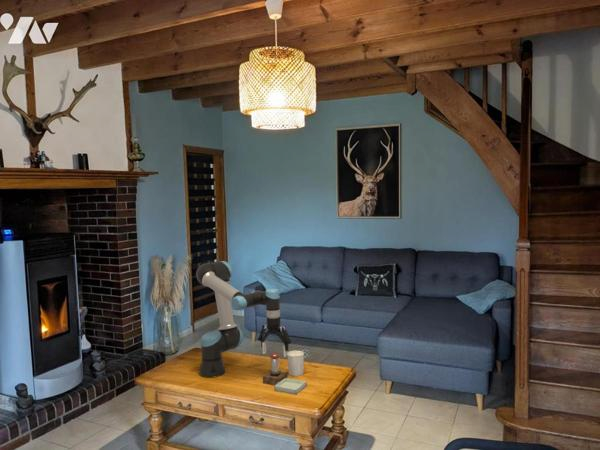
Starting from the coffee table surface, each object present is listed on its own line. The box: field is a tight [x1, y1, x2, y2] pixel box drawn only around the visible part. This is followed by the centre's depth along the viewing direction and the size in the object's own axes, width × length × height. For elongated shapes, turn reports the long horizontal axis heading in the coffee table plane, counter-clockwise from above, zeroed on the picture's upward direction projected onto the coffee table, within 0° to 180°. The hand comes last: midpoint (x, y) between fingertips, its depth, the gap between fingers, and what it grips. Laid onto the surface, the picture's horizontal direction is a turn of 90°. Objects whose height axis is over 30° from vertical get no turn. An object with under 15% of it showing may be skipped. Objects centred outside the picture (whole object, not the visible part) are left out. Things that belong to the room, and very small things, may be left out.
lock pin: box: [269, 352, 280, 377], centre depth 255 cm, size 5×5×16 cm
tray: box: [273, 377, 307, 396], centre depth 246 cm, size 13×12×3 cm
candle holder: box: [286, 350, 305, 377], centre depth 266 cm, size 10×10×12 cm
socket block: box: [262, 370, 289, 386], centre depth 256 cm, size 10×10×4 cm
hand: (275, 355), depth 255 cm, fingers open, 13 cm apart
